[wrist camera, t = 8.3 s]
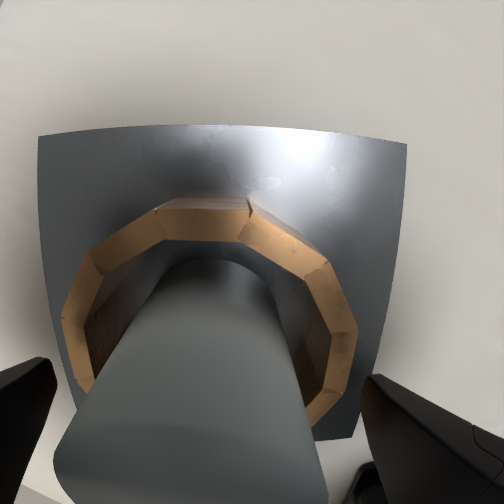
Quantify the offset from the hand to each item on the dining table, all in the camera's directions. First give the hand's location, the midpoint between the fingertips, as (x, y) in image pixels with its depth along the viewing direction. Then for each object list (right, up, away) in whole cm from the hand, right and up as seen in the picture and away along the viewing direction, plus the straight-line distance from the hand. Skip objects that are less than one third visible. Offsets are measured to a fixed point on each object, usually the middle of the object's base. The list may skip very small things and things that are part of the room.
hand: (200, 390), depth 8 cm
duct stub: (0, +1, +4) cm, 4 cm away
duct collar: (0, +1, +5) cm, 5 cm away
